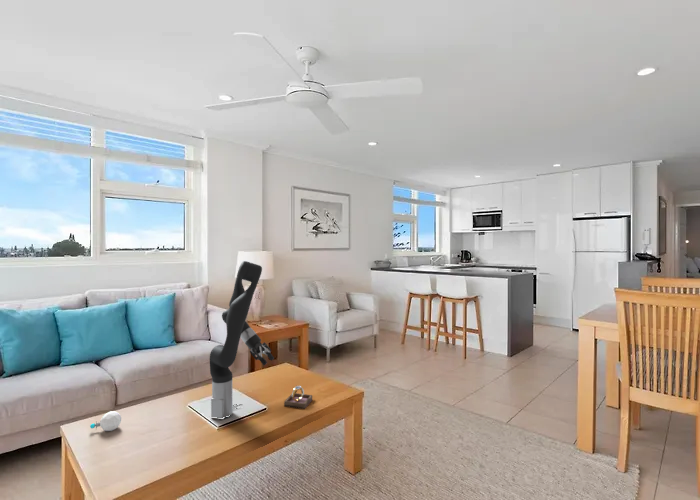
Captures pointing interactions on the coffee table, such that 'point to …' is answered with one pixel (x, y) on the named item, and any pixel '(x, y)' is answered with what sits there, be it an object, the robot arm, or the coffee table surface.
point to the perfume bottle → (108, 421)
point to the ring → (296, 391)
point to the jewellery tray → (295, 404)
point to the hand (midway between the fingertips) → (269, 361)
